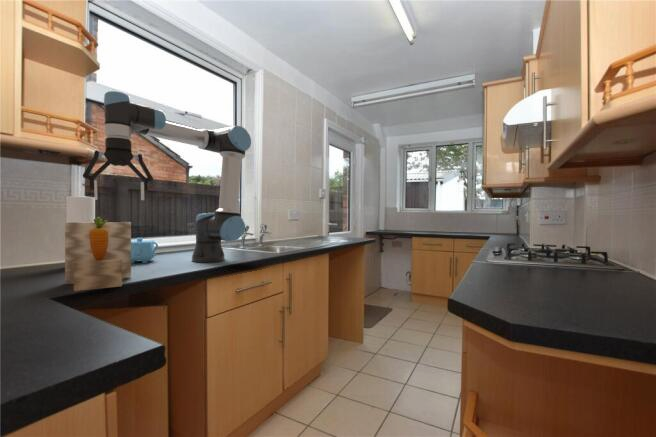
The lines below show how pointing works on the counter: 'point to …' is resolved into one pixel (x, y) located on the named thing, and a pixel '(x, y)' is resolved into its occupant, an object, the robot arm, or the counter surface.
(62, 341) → the counter surface
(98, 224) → the carrot
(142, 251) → the teapot
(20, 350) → the counter surface
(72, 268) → the beige patterned block
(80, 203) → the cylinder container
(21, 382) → the counter surface
